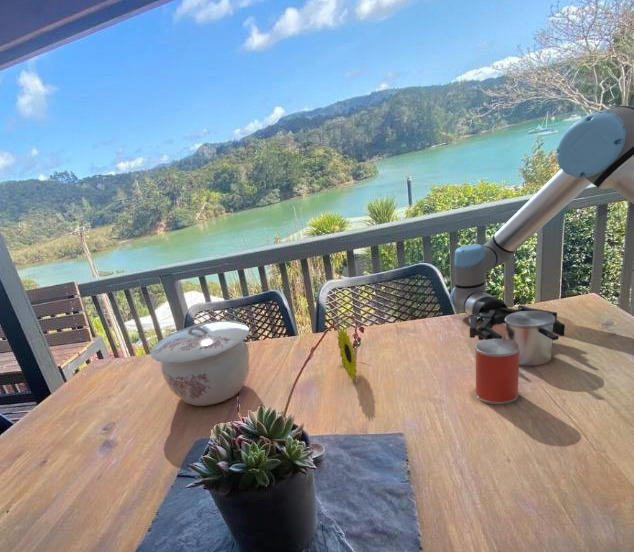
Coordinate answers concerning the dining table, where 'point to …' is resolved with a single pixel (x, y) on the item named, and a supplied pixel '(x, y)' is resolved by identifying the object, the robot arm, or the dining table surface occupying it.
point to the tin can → (497, 371)
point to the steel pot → (531, 335)
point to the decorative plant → (347, 353)
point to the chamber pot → (205, 361)
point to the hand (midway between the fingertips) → (531, 336)
